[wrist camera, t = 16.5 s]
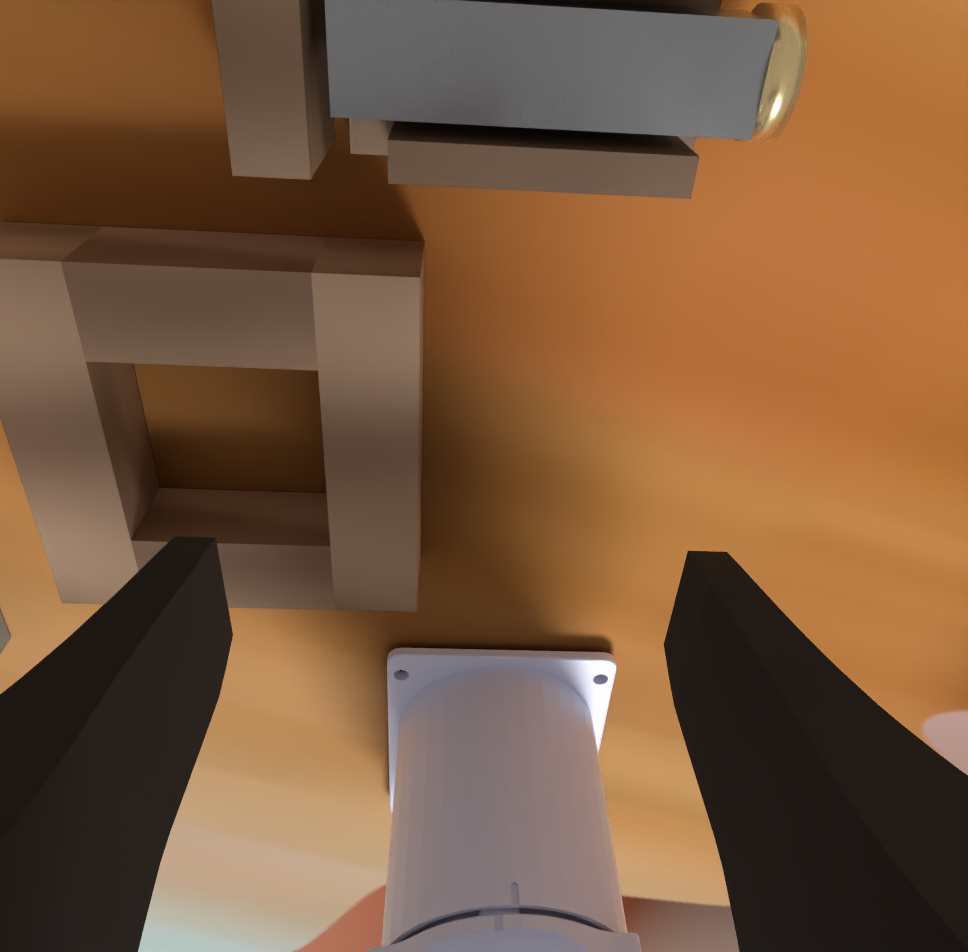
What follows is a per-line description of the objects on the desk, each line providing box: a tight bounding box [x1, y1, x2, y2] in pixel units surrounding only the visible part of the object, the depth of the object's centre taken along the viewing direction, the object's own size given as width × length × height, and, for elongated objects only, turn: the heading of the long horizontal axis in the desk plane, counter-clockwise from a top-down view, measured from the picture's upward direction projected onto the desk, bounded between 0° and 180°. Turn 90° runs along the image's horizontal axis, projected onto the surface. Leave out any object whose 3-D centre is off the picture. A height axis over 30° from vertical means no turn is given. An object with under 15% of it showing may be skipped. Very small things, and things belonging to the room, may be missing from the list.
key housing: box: [211, 0, 721, 199], centre depth 16 cm, size 4×10×4 cm, turn 87°
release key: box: [325, 0, 807, 143], centre depth 15 cm, size 2×9×2 cm, turn 87°
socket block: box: [0, 222, 425, 612], centre depth 21 cm, size 10×10×2 cm
